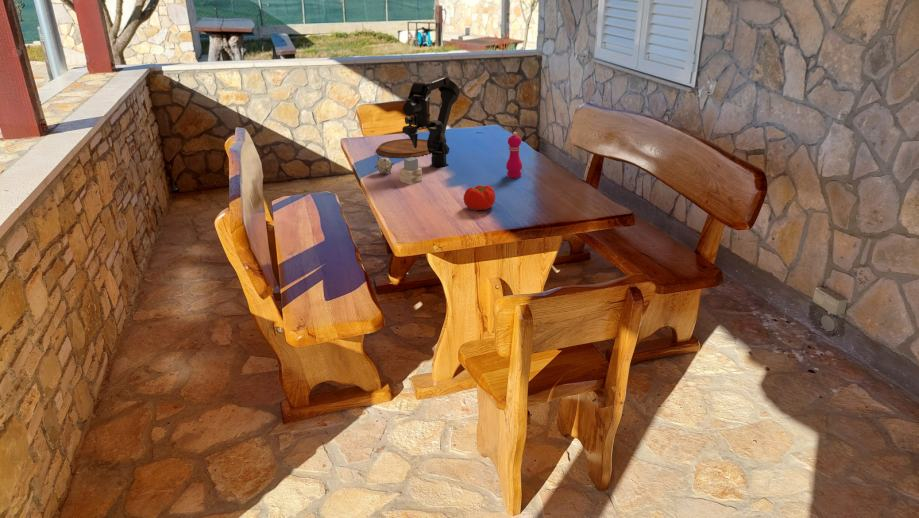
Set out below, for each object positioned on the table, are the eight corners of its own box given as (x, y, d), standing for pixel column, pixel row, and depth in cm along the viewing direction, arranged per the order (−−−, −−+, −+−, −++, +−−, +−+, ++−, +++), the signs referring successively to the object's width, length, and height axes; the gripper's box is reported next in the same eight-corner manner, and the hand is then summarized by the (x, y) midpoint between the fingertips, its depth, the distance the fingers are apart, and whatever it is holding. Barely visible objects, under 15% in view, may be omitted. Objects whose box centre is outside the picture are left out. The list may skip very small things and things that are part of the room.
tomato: (472, 216, 239) (472, 194, 235) (459, 206, 249) (458, 185, 246) (502, 210, 243) (502, 189, 240) (488, 201, 254) (488, 180, 250)
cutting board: (403, 140, 350) (403, 135, 349) (450, 147, 333) (449, 142, 332) (363, 153, 327) (363, 148, 326) (411, 162, 309) (410, 157, 308)
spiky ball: (388, 182, 292) (389, 169, 283) (371, 175, 292) (372, 162, 283) (395, 168, 296) (397, 155, 288) (379, 161, 296) (380, 148, 288)
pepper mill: (524, 174, 285) (525, 130, 276) (518, 179, 279) (519, 134, 270) (509, 173, 288) (509, 129, 279) (503, 177, 282) (503, 133, 273)
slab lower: (412, 178, 285) (412, 172, 284) (422, 181, 280) (421, 175, 279) (399, 182, 281) (399, 175, 280) (409, 185, 276) (409, 178, 275)
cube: (413, 166, 281) (412, 156, 279) (418, 168, 278) (417, 158, 276) (404, 168, 279) (403, 158, 277) (409, 170, 275) (409, 160, 273)
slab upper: (411, 172, 284) (410, 165, 282) (422, 175, 279) (421, 168, 278) (399, 175, 279) (399, 169, 278) (410, 178, 275) (410, 172, 273)
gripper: (427, 105, 291) (428, 139, 297) (393, 112, 280) (396, 146, 286) (442, 109, 283) (443, 143, 289) (409, 115, 272) (411, 151, 278)
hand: (423, 146), depth 286 cm, fingers open, 9 cm apart
